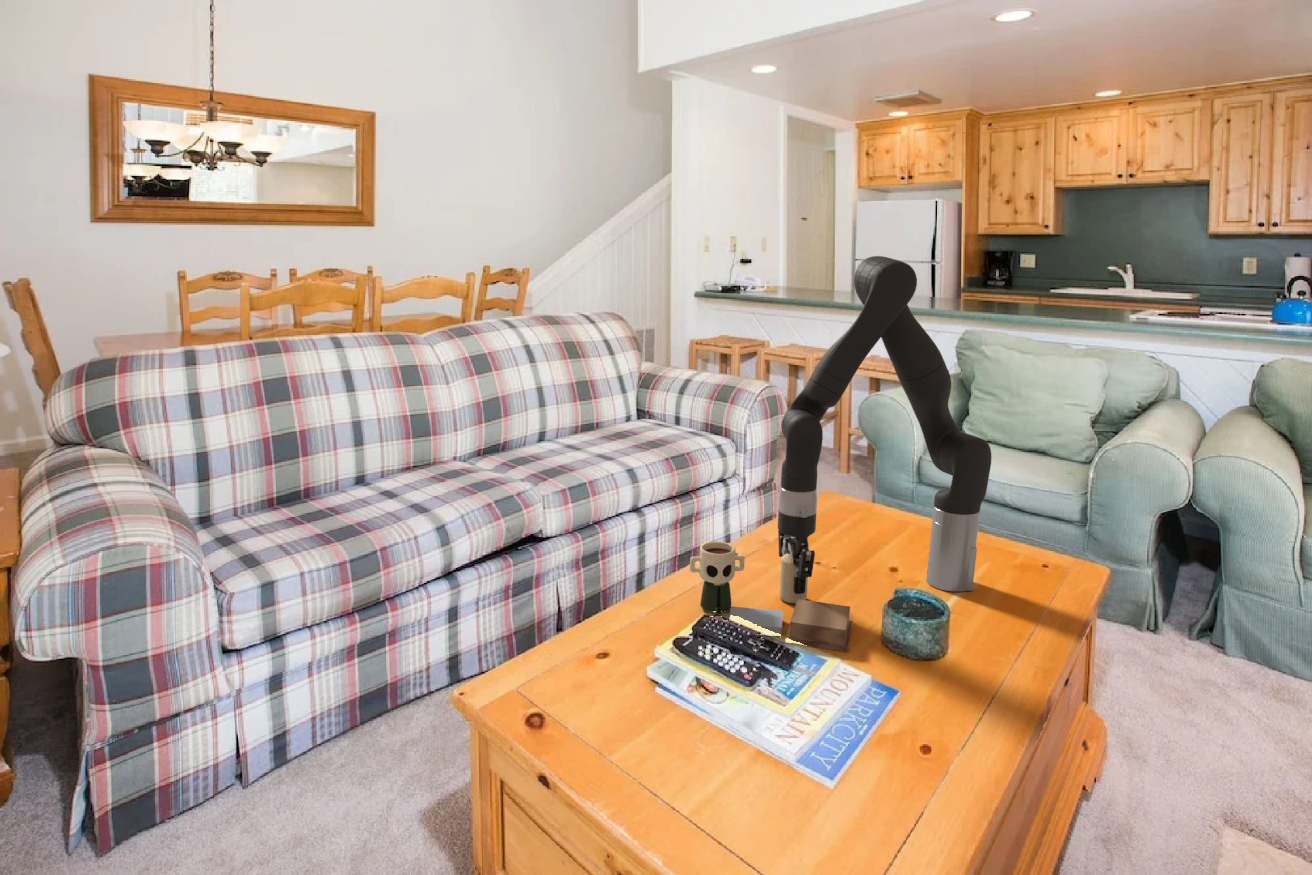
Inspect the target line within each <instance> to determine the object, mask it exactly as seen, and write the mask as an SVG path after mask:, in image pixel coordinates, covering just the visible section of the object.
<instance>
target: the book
mask: <svg viewBox="0 0 1312 875" xmlns="http://www.w3.org/2000/svg"><path fill="white" fill-rule="evenodd" d="M783 612H784V611H783V610H780V609H779V610H777V609H769V608H768V609H767V608H766V609H765V608H755V607H742V606H732V605H731V609H729V615H733V616H739V617H741V618H743V619H744V620H748V621H750V622H752V623H753V624H757V626H761V627H762V628H765V629H768V630H770V631H773V632H775V633H779V634H782V633H783Z"/></svg>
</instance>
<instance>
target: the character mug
mask: <svg viewBox="0 0 1312 875" xmlns="http://www.w3.org/2000/svg"><path fill="white" fill-rule="evenodd" d="M736 561H739V565H738V566H736ZM696 562H699V567H695V566H696V564H695V563H696ZM744 569H745V556H744V555H742V554H740V555H739V554H738V555H736V547H735V546H734V545H733V544H731V543H728V542H725V541H707V542H703V543H702V544H701V545H700V547H699V556H691V557H690V559H689V570H690V573H698V574H699V577H700V578H701V579H702V580H703V586H702V591H701V597H700V607H701V608H702V610H704V611H706V612H709V613H713V611H716V612H717V609H720V612H721V611H722V612H721V613H725V612H728V611H730V610H731V606H732V594H731V593H732V592H731V585H730V582H731V581H733V579H734V577H735V574H736V573H735V572H742V571H744Z"/></svg>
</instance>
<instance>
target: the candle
mask: <svg viewBox="0 0 1312 875" xmlns="http://www.w3.org/2000/svg"><path fill="white" fill-rule="evenodd" d="M795 560H796V561H800V559H795ZM798 570H799V565H798ZM794 576H795V575H794V566H793V565H792V564H791V558H790V554H789V553H787V554H785V555H783V556H782V557H780V576H779V577H780V579H779V598H780V600H782V601H783V602H785V603H789V604H796V602H797V599H800V600H807V595H808V594H807V593H808V578H809V577H806V585H805V593H803V594H795V592H794Z"/></svg>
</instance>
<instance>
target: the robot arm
mask: <svg viewBox="0 0 1312 875" xmlns="http://www.w3.org/2000/svg"><path fill="white" fill-rule="evenodd" d="M853 276H854V278H853V287H854V289H855V290H854V291H855V293H856V295H857V297H858V299H859V301H860V302H861V304H862V305H863V306H862V310H861V311H860V313H859V314H858V316H857V318H856V319H855V321H853V324H851V326H850V327H849V328H848V329H847V330H846V331H845V333H844V334H842V335H841V336H840V337H839V338H838V339H837V340H836V341H835V342H834V343H833V344H832V345H831V346H830V347H829V348H828V349H827V351H826V352H825V353H824V354H823V355H822V357H821V358H820V360H819V362H818V363H817V365H816V367H815V369H814V370H813V372H812V373H811V375H810V377H809V378H808V381H807V383H806V384H805V387H804V388H803V389H802V391H801V392H799V393H798V394H797V396H796V397H795V399H794V400H793V401H792V403H790V405H789V407H788V408H787V410H786V412H785V413H784V415H783V417H782V420H781V423H780V424H781V425H780V427H781V432H782V434H783V437H785V439H786V440H785V441H786V447H785V459H784V460H783V461H782V463H781V471H780V472H781V474H780V476H781V477H780V491H779V495H778V513H777V514H778V516H777V531H778V532H777V533H778V536H777V537H778V538H777V539H778V540H777V541H778V556H779V557H780V558H781V557H782V556H783V555H785V554H787V553H789V554H790V558H791V564H792V565H793V566H794V575H795V576H794V592H795V594H803V593H805V585H806V577H808V578H811V577H812V575H813V570H814V563H815V555H816V552H815V550H813V549H812V550H810V549H809V548H810V546H809V544H810V543H809V541H808V540H809V539H808V538H809V537H811V535H813V534H814V533H815V532H816V531H817V530H816V527H817V510H818V508H817V507H818V492H817V488H818V487H817V486H818V464H819V461H820V457H821V452H822V448H823V439H824V438H823V437H824V436H823V435H824V434H823V426H822V424H821V420H822V419H823V417H824V415H826V413H827V411H828V410H829V409H830V408H833V407H835V406H837V404H838V403H839V401H840V400H841V398H842V396H843V394H844V393H845V391H846V389H847V388H848V386H849V385H850V383H851V381H852V380H853V377H854V376H855V374H856V372H858V369H859V368H860V366H861V364H863V362H864V360H865V359H866V357H867V356H868V355H869V353H870V352H871V351H872V349H873V348H874V346H875V345H877V343H878V342H879V340H880V339H881V340H882V343H883V346H884V348H885V351H886V353H887V356H888V357H889V359H890V361H891V364H892V367H893V369H894V372H895V373H896V376H897V379H898V380H899V382H900V385H901V388H902V389H903V391H904V393H905V396H907V397H906V398H907V399H908V401H909V403H910V407H911V408H912V410H913V413H914V415H915V417H916V419H917V421H918V424H919V426H920V429H921V433H922V434H923V439H924V442H925V445H926V448H927V451H928V455H929V457H930V459H931V462H932V463H933V465H934V466H935V467H936V468H937V470H939V471H941V472H942V473H945V474H947V475H950V476H952V477H951V484H950V487H949V488H945V489H940V490H938V491H937V492H936V493H935V494H934V499H933V510H932V518H931V521H932V522H931V528H930V529H931V530H930V540H929V550H928V560H927V569H926V578H925V580H926V582H927V583H928V584H929V585H930V586H932V587H934V588H935V589H938V590H940V591H947V592H952V593H953V592H955V593H956V592H959V593H960V592H965V591H966V592H972V591H973V586H974V578H975V569H976V562H977V561H976V560H977V552H978V548H977V540H978V532H979V523H980V514H981V505H982V503H983V501H984V500H985V497H986V495H987V490H988V484H989V478H990V472H991V467H992V449H991V446H990V444H989V443H988V441H986V440H985V439H984V438H981V437H979V436H975V435H974V434H973V435H972V434H970V433H966V432H962V431H961V430H960V429H959V427H958V426H957V424H956V422H955V420H954V418H953V416H952V414H951V412H950V409H949V401H950V397H951V393H952V392H951V391H952V378H951V374H950V372H949V369H948V367H947V365H946V362H945V360H944V358H943V355H942V353H941V351H940V349H939V348H938V346H937V345H936V343H935V342H934V340H933V339H932V338H931V336H930V335H929V334H928V332H926V330H925V329H924V328H923V326H921V324H920V322H918V321H917V319H916V318H915V316H914V315H913V313H912V311H911V308H910V307H909V305H908V304H909V303H910V302H911V300H912V298H913V296H914V295H915V293H916V290H917V287H918V278H917V273H916V272H915V269H914V268H913V267H912V266H911V265H910V264H908V263H907V262H904V261H901V260H899V259H895V258H891V257H889V256H888V257H887V256H881V255H874V256H870V257H867V258H865V259H863V260H862V261H861V262H860V263H859V265H857V267H856V269H855V273H854V275H853ZM795 559H800V561H796V560H795ZM798 565H799V570H798Z"/></svg>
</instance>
